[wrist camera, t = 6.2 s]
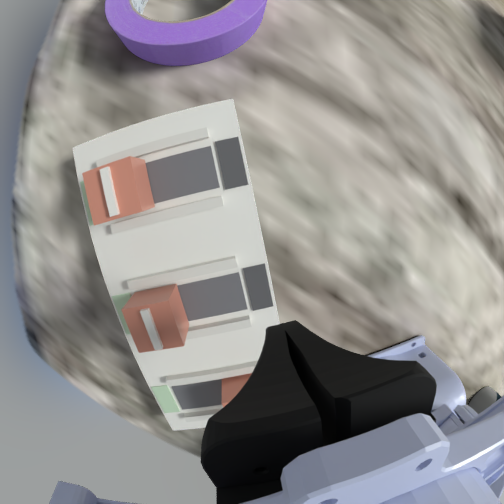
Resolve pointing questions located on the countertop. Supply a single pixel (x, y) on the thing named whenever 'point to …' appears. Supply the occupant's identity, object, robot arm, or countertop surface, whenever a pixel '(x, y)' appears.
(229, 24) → the masking tape
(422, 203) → the countertop surface
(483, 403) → the lotion bottle
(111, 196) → the switch
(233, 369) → the switch strip
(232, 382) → the switch
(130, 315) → the switch mid
